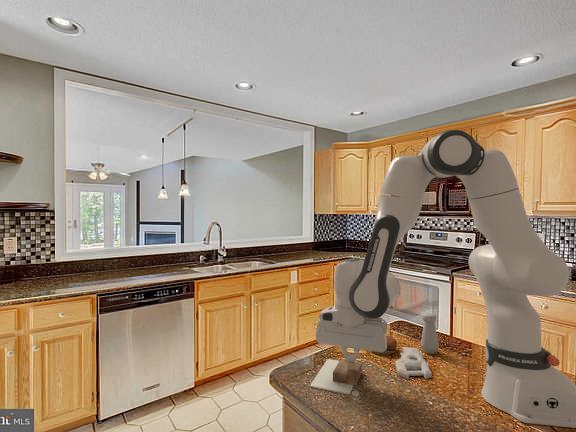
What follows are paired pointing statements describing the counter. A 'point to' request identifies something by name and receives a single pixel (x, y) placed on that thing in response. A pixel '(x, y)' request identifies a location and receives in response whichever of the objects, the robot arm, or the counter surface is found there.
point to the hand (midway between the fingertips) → (350, 362)
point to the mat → (330, 379)
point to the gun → (412, 363)
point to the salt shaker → (429, 334)
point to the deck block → (347, 372)
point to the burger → (388, 346)
